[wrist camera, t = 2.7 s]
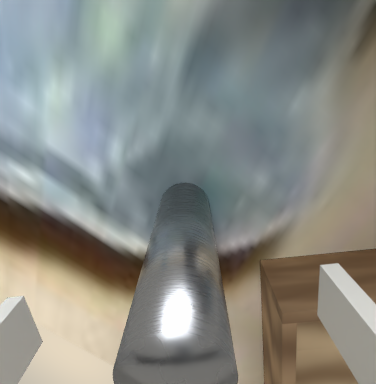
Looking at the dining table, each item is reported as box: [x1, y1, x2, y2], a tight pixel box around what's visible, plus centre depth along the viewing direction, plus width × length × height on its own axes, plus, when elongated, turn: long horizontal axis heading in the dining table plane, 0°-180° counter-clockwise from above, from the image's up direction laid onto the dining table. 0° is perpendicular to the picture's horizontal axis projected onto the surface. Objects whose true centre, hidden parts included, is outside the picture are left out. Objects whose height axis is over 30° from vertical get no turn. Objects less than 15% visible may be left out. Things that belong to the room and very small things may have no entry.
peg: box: [113, 183, 238, 384], centre depth 15 cm, size 4×4×14 cm
